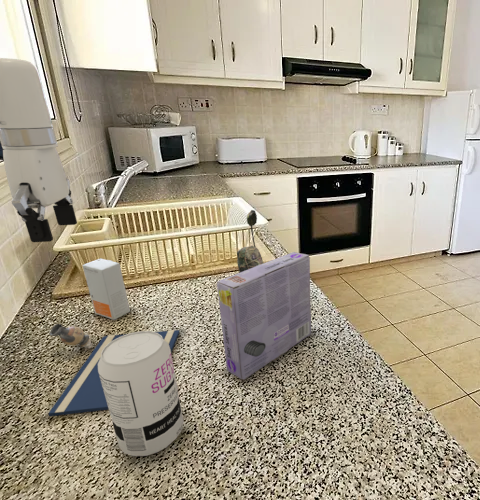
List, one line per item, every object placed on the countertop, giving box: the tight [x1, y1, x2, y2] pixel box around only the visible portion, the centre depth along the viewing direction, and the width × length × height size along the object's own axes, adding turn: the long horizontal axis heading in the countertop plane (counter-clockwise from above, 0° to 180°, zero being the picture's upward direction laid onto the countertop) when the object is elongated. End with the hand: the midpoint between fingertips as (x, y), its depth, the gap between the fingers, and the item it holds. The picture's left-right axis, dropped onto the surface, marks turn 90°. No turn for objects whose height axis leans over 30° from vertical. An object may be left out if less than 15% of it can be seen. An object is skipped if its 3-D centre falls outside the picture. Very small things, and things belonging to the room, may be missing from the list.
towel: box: [47, 329, 180, 417], centre depth 66 cm, size 14×20×1 cm
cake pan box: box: [216, 251, 312, 382], centre depth 68 cm, size 19×5×18 cm, turn 145°
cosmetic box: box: [82, 258, 131, 321], centre depth 80 cm, size 6×4×12 cm
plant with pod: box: [236, 209, 264, 273], centre depth 91 cm, size 8×11×20 cm
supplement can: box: [98, 330, 184, 457], centre depth 50 cm, size 8×8×15 cm
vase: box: [49, 323, 94, 354], centre depth 69 cm, size 5×5×6 cm
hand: (56, 232), depth 71 cm, fingers open, 9 cm apart
